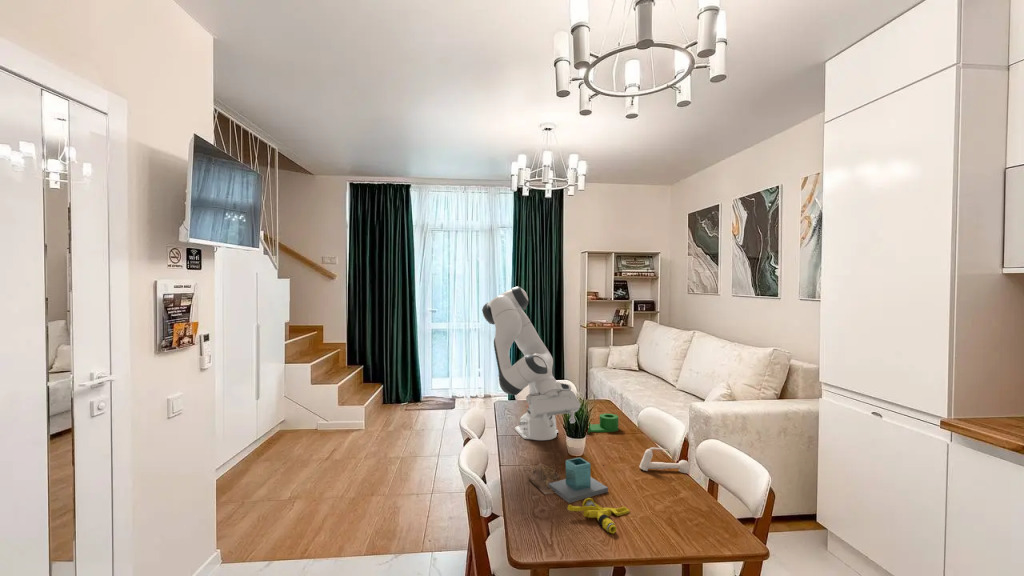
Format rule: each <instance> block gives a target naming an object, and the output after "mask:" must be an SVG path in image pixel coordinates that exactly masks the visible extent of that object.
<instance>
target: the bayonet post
mask: <svg viewBox="0 0 1024 576" xmlns="http://www.w3.org/2000/svg"><path fill="white" fill-rule="evenodd" d="M590 481H591V487H590V488H586V489H581V490H577V491H575V490H574V489H572V488H571V487H570V486H568V485H567V484H566V478H564V479H561V480H557V481H556V482H552V483H548V487H550V488H551V489H552V490H553V491H555V493H554V494H556V495H558V496H559V497H560V498H561V499H563V500H564V501H566V502H567V503H568V504H571V503H574V502H578V501H581V500H585V499H587V498H591V497H595V496H598V495H602V494H606V493H608V492H609V488H608V486H606V485H604V483H601V482H600V481H598V480H597V479H595V478H594V477H592V476H590Z"/></svg>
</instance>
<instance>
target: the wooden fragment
mask: <svg viewBox="0 0 1024 576" xmlns="http://www.w3.org/2000/svg"><path fill="white" fill-rule="evenodd" d="M559 478H560V474H559V473H558V472H557V470H556V469H554V468H552V467H550V466H546V465H545V464H543V463H541V462H540V463H538V464H537V466H536V468H535V469H534V471H533V472H532V474H531V476H530V477H529V482H531V483H532V484H533V485H534V486H535V487H536V488H537V489H539V490H540V491H541V492H542V493H543V495H544V496H549V495H553V494H556V493H555V491H553V490H552V489H551V488H550V487H548V483H552V482H556V481H558V479H559Z"/></svg>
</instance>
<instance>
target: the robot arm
mask: <svg viewBox="0 0 1024 576" xmlns="http://www.w3.org/2000/svg"><path fill="white" fill-rule="evenodd" d="M528 305H529V297H528V293H527V292H526V291H525V290H524V289H523V288H522V287H521V286H515V287H511V289H508V290H506V291H504V292H501V293H500V294H499V295H498V296H495V297H494V298H493V299H492V300H490V301H489V302H486V303H485V304H484V305H483V306H482V309H481V311H482V315H483V318H484V319H485V321H486V322H488V324H491V325H494V326H495V334H494V335H495V336H494V339H493V349H494V354H495V360H496V363H497V369H498V383H499V386H500V388H501V390H502V391H503V393H505V394H507V395H511V396H517V395H518V394H520V393H521V392H522V391H523V390H524V389H525V388H526V387H529V388H528V389H529V391H528V395H526V397H525V401H526V403H527V405H526V408H527V410H526V411H527V412H526V413H524V414H523V415H522V416H521V417H520V418H519V421H518V422H519V425H517V426H515V427H514V430H515V431H516V432H517V433H518V434H519V436H520V437H521V438H523V440H533V441H551V440H553V439H555V438H557V435H558V434H559V430H558V429H557V421H556V419H557V418H556V416H558V415H565V414H568V415H569V416H570V417H569V419H568V421H569V424H574V423H575V422H576V418H575V413H577V412H578V411H579V410H580V409H581V403H580V400H579V399H578V397H577V394H576V393H575V392H574V391H573V390H572V386H571V385H570V384H567V383H563V382H559V381H557V380H556V378H555V377H554V375H553V366H554V358H553V356H552V354H551V352H550V351H549V349H548V348H547V346H546V344H545V343H544V342H543V340H542V339H541V338H540V336H539V334H538V332H537V330H536V328H535V327H534V325H533V323H532V322H531V320H530V318H529V316H528V315H527V314H526V313H525V311H527V307H528ZM514 342H515V344H516V345H517V348H518V349H519V350H520V351H521V353H522V354H523V356H522V357H521V358H520V359H518V360H517V361H516V362H515V363H514V364H513V365H512V364H511V358H510V349H511V347H512V345H513V343H514ZM557 433H558V434H557Z"/></svg>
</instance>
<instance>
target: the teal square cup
mask: <svg viewBox="0 0 1024 576" xmlns="http://www.w3.org/2000/svg"><path fill="white" fill-rule="evenodd" d="M590 477H591V462H589V461H588V460H586V459H584V458H582V457H581V456H579V457H574V458H569V459H565V479H566V484H567V485H568V486H570V487H571V488H572V489H574V490H575V491H577V490H581V489H586V488H590V487H591V481H590Z"/></svg>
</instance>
